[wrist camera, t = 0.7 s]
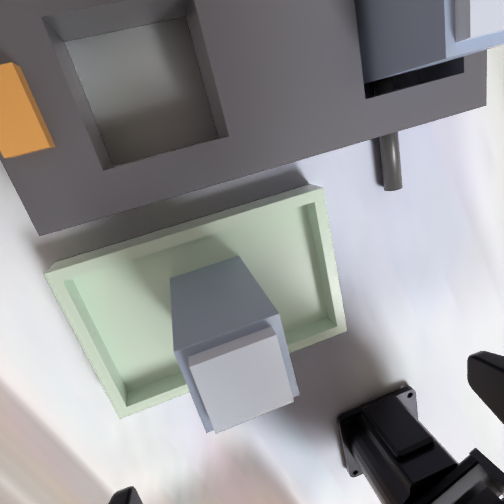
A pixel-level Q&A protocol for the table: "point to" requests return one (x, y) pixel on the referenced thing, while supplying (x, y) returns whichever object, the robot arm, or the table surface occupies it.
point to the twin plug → (419, 47)
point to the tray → (186, 260)
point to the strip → (218, 92)
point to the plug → (229, 345)
